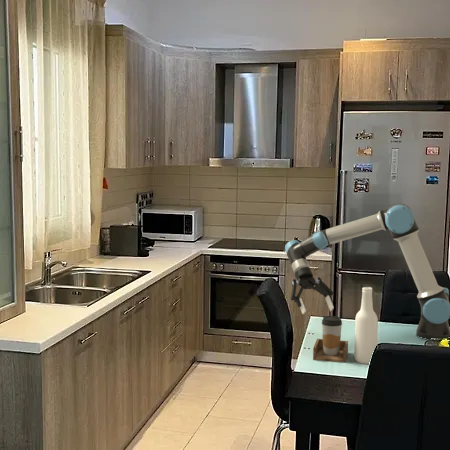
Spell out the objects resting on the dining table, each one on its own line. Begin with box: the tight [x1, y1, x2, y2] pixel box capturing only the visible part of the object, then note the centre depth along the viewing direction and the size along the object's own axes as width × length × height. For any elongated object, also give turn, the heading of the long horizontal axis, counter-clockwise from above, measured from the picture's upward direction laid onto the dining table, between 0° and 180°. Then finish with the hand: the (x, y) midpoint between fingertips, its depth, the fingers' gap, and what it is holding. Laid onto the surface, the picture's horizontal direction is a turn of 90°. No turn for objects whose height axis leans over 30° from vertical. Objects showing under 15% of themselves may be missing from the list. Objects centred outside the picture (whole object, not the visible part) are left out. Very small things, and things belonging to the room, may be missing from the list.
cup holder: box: [312, 338, 349, 363], centre depth 245 cm, size 13×13×5 cm
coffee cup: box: [321, 315, 343, 356], centre depth 244 cm, size 8×8×15 cm
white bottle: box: [353, 286, 379, 365], centre depth 238 cm, size 9×9×30 cm
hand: (318, 311), depth 256 cm, fingers open, 13 cm apart
